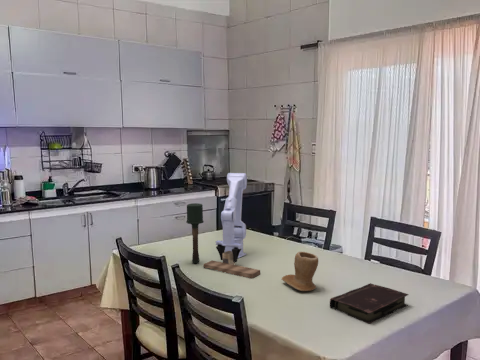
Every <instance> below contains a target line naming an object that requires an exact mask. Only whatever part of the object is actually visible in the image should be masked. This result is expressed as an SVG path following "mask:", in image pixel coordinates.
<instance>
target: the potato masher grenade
mask: <svg viewBox="0 0 480 360" xmlns="http://www.w3.org/2000/svg"><path fill="white" fill-rule="evenodd" d="M203 206H204V205H203V203H197V202H196V203H188V204H187V205H186V224H189V225H191V235H192V257H191V258H192V259H191V262H192V264H193V263H198V264H199V263H200V261H201V260H200V255H199V253H200V252H199V225H200V224H203V223H204V222H205V221H204V215H203V214H204V213H203V211H204V210H203Z"/></svg>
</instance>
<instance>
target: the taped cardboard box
mask: <svg viewBox="0 0 480 360" xmlns="http://www.w3.org/2000/svg"><path fill="white" fill-rule="evenodd" d="M222 262H223V263H228V264H233V265H234V264H235V265H236V262H235V263H233V253H232V251H227V252H224V253H223V260H222Z"/></svg>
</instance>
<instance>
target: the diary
mask: <svg viewBox="0 0 480 360" xmlns="http://www.w3.org/2000/svg"><path fill="white" fill-rule="evenodd" d="M408 296H409V294H408V293H405V292H402V291H400V290H396V289H393V288H389V287H385V286H382V285H378V284H373V283H371V282H370V283H367V284H366V285H363V286H361V287H357V288H355V289H351V290H349V291H347V292H344V293H343V294H340V295H336V296H334V297H331V298H330V299H329V308H330V309H333V308H335V309H334V310H335V311H336V310H338V311H339V312H342V313H345V314H346V316H349V317H350V318H353V319H356V320H358V321H360V322H363V323H366V324H372V323H374V322H376V321H379V320H381V319H384V317H387V316H389V315H391V314H394V313H395V312H396V311H398V310H401V309H404V308H406V307H408V306H409V305H408V304H405V303H406V301H405V300H406V297H408Z"/></svg>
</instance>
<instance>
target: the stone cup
mask: <svg viewBox="0 0 480 360" xmlns="http://www.w3.org/2000/svg"><path fill="white" fill-rule="evenodd" d="M293 261H294V263H293V264H294V274H285V275H284V276H282V277H281V280H282V281H283V282H284V283H285V284H288V286H290V287H291V288H294V289H296V291H297V290H298V291H301V292H309V291H313V290H315V289H316V288H317V286H316V285H315V284H314V281H313V278H314V275H315V273H316V272H317V269H318V265H319V257H318V256H317V255H316V254H314V253H311V252H307V251H298V252H297V253H296V254H295V257H294V260H293Z"/></svg>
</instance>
